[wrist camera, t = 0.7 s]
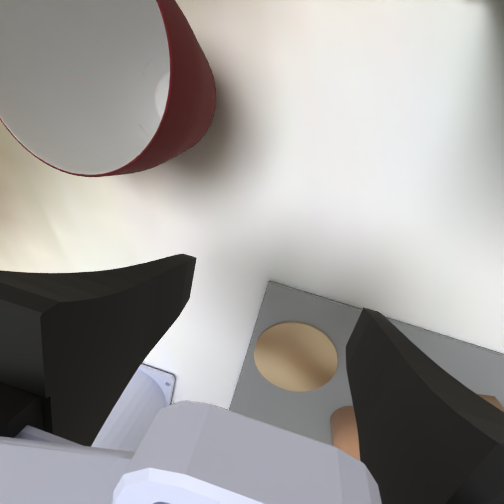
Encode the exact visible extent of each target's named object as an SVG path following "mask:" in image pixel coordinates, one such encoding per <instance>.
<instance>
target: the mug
mask: <svg viewBox="0 0 504 504" xmlns="http://www.w3.org/2000/svg"><path fill="white" fill-rule="evenodd" d="M215 105H216V89H215V82H214V78H213V74H212V71H211V68H210V66H209V63H208V61H207V59H206V57H205V55H204V53H203V51H202V49H201V47H200V45H199V43H198V41H197V39H196V37H195V35H194V33H193V31H192V29H191V27H190V25H189V23H188V21H187V19H186V17H185V16H184V14H183V12H182V11H181V9H180V8H179V6H178V4H177V3H176V1H175V0H0V120H1V121H2V123H3V124H4V125H5V127H6V128H7V129H8V131H9V132H10V133H11V134H12V136H13V137H14V138H15V139H16V140H17V141H18V142H19V143H20V144H21V145H22V146H23V147H24V148H25V149H26V150H28V151H29V152H30V153H31V154H33V155H34V156H35V157H36V158H38V159H39V160H41V161H42V162H44V163H46V164H47V165H49V166H51V167H53V168H55V169H58V170H60V171H62V172H65V173H68V174H72V175H77V176H84V177H102V176H113V175H122V174H129V173H135V172H139V171H143V170H147V169H150V168H153V167H155V166H158V165H160V164H162V163H164V162H166V161H168V160H169V159H171V158H173V157H175V156H177V155H179V154H180V153H182V152H184V151H186V150H188V149H189V148H191V147H192V146H194V145H195V144H196V143H197V142H198V141H199V140H200V139H201V138H202V137H203V136H204V134H205V133H206V131H207V130H208V128H209V126H210V124H211V122H212V119H213V116H214V111H215Z"/></svg>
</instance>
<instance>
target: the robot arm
mask: <svg viewBox="0 0 504 504" xmlns="http://www.w3.org/2000/svg"><path fill="white" fill-rule="evenodd" d="M195 263H196V258H195V257H192V256H189V255H185V254H179V255H174V256H170V257H166V258H163V259H159V260H155V261H151V262H147V263H143V264H138V265H134V266H129V267H124V268H118V269H112V270H104V271H95V272H79V273H25V272H11V271H0V504H504V412H503V411H501V410H500V409H498V408H497V407H495V406H494V405H492V404H491V403H489V402H488V401H486V400H485V399H483V398H482V397H480V396H479V395H477V394H476V393H474V392H473V391H472V390H470V389H469V388H467V387H466V386H465V385H463V384H462V383H461V382H459V381H458V380H457V379H455V378H454V377H453V376H451V375H450V374H449V373H447V372H446V371H445V370H444V369H442V368H441V367H440V366H439V365H437V364H436V363H435V362H434V361H433V360H432V359H430V358H429V357H428V356H427V355H426V354H425V353H424V352H422V351H421V350H420V349H419V348H418V347H417V346H416V345H415V344H414V343H412V342H411V341H410V340H409V339H408V338H407V337H406V336H405V335H404V334H403V333H402V332H401V331H400V330H399V329H398V328H397V327H396V326H394V325H393V324H392V323H391V322H390V321H389V320H388V319H387V318H386V317H384V316H383V315H382V314H381V313H379V312H377V311H373V310H370V309H367V308H363V310H362V312H361V314H360V316H359V318H358V321H357V323H356V325H355V327H354V329H353V332H352V334H351V336H350V338H349V340H348V342H347V345H346V370H347V376H348V381H349V387H350V392H351V397H352V402H353V407H354V413H355V418H356V423H357V430H358V439H359V451H360V461H359V460H358V459H356V458H354V457H352V456H351V455H349V454H347V453H345V452H344V451H342V450H340V449H338V448H337V447H335V446H332V445H329V444H326V443H323V442H321V441H318V440H315V439H312V438H309V437H306V436H303V435H300V434H297V433H294V432H291V431H288V430H285V429H283V428H280V427H277V426H274V425H271V424H268V423H265V422H262V421H259V420H256V419H253V418H250V417H248V416H245V415H242V414H239V413H236V412H233V411H230V410H227V409H224V408H221V407H218V406H215V405H212V404H207V403H199V402H192V401H181V402H178V403H175V404H172V405H170V403H171V398H172V392H173V387H174V382H175V378H174V376H173V375H171V374H168V373H166V372H163V371H160V370H157V369H154V368H151V367H149V366H146V365H143V364H141V363H142V362H143V361H144V359H145V358H146V356H147V355H148V354H149V352H150V351H151V350H152V349H153V348H154V346H155V345H156V344H157V343H158V341H159V340H160V339H161V338H162V336H163V335H164V334H165V333H166V332H167V330H168V329H169V328H170V327H171V325H172V324H173V323H174V322H175V320H176V319H177V318H178V316H179V315H180V313H181V312H182V310H183V309H184V307H185V305H186V303H187V302H188V300H189V298H190V292H191V286H192V281H193V275H194V269H195Z"/></svg>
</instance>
